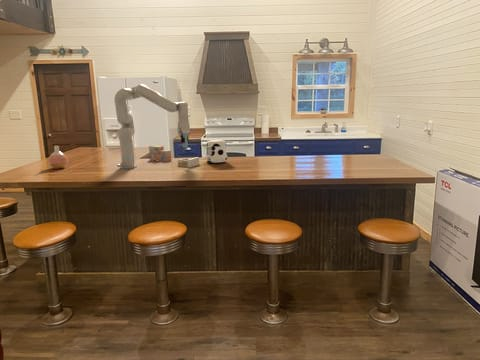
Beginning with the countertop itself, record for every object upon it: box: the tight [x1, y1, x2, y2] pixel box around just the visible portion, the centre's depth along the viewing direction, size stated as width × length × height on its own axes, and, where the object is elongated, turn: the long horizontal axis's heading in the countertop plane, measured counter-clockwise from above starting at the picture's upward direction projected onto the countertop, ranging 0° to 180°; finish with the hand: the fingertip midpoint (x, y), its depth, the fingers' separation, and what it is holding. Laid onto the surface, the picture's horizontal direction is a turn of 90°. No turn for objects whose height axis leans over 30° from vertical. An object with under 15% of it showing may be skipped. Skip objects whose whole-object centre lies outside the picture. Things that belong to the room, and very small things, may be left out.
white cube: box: [205, 139, 228, 164], centre depth 288 cm, size 17×17×18 cm
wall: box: [187, 156, 200, 168], centre depth 275 cm, size 13×2×6 cm, turn 153°
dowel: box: [181, 133, 189, 148], centre depth 273 cm, size 4×4×12 cm
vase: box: [47, 145, 69, 170], centre depth 274 cm, size 14×14×18 cm
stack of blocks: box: [148, 145, 172, 163], centre depth 305 cm, size 21×6×12 cm, turn 53°
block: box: [177, 157, 192, 168], centre depth 278 cm, size 10×10×5 cm
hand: (184, 142), depth 274 cm, fingers closed on dowel, 4 cm apart
